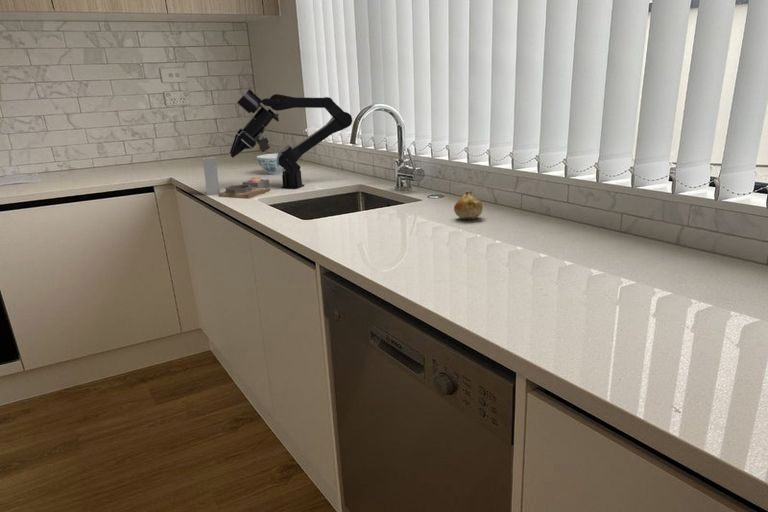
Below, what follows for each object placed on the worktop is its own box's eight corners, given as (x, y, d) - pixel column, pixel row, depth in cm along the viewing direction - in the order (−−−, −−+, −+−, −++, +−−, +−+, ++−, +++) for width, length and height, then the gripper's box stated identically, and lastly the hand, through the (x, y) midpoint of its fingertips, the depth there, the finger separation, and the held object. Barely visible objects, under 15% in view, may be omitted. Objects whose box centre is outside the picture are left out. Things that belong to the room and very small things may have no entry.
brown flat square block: (270, 191, 210) (269, 184, 209) (248, 198, 199) (247, 190, 198) (242, 189, 216) (241, 182, 215) (219, 196, 204) (218, 188, 204)
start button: (263, 183, 220) (263, 177, 219) (257, 185, 216) (256, 179, 216) (255, 183, 222) (254, 177, 221) (248, 185, 218) (248, 178, 217)
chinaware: (276, 169, 261) (274, 152, 259) (299, 172, 253) (298, 154, 251) (251, 174, 250) (249, 157, 248) (275, 177, 241) (273, 158, 239)
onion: (448, 218, 162) (448, 190, 160) (472, 214, 165) (473, 187, 163) (462, 223, 155) (462, 194, 153) (487, 220, 158) (488, 191, 156)
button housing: (269, 186, 221) (268, 179, 220) (258, 189, 215) (257, 182, 214) (254, 185, 224) (254, 179, 223) (243, 188, 218) (242, 182, 217)
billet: (219, 192, 212) (215, 157, 208) (219, 194, 208) (215, 158, 204) (207, 193, 211) (202, 157, 207) (207, 195, 207) (202, 159, 203)
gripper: (279, 139, 202) (250, 173, 202) (273, 135, 219) (247, 166, 219) (254, 118, 197) (224, 152, 198) (250, 115, 215) (223, 146, 215)
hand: (231, 155), depth 208 cm, fingers open, 9 cm apart
